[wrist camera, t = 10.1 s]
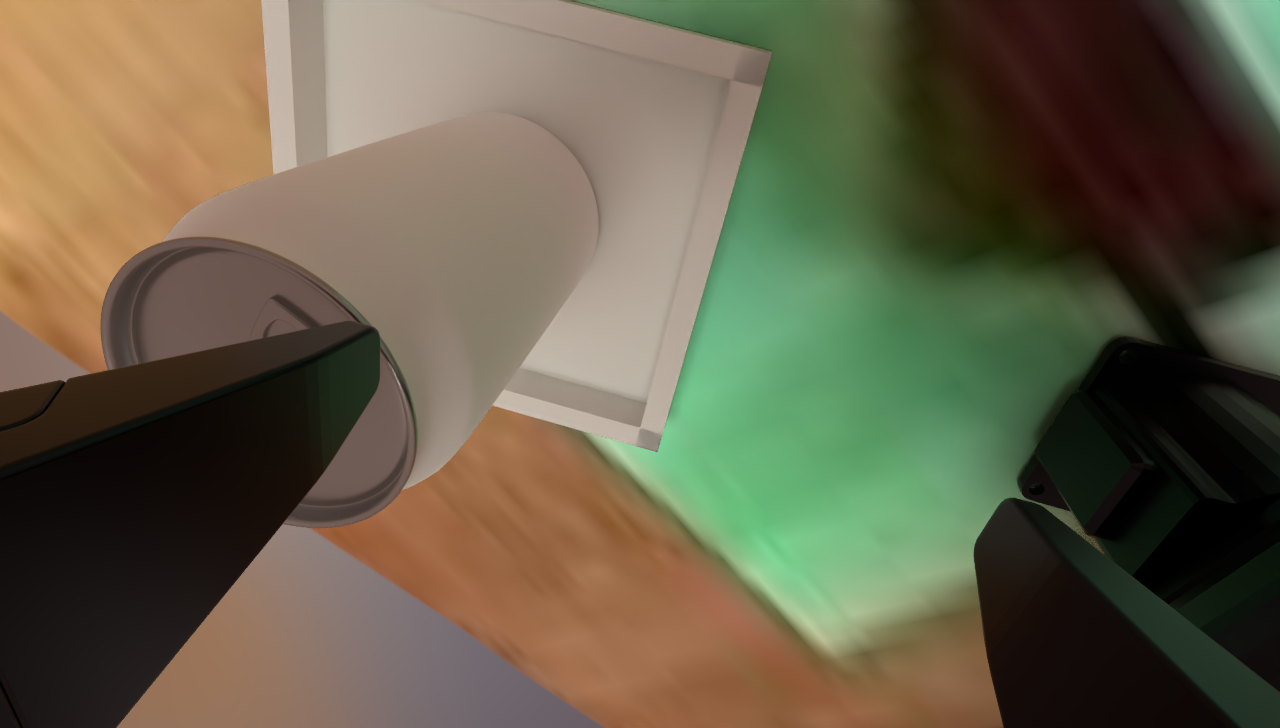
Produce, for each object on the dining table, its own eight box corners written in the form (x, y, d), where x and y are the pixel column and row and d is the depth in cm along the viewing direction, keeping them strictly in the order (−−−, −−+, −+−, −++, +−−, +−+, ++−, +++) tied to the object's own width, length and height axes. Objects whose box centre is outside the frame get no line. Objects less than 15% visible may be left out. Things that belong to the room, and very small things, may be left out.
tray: (771, 51, 18) (771, 54, 16) (665, 418, 25) (656, 451, 23) (307, -66, 19) (256, -76, 17) (322, 322, 25) (286, 347, 23)
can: (380, 214, 22) (33, 390, 12) (483, 60, 19) (144, 109, 9) (525, 338, 23) (331, 596, 13) (643, 212, 20) (514, 413, 10)
